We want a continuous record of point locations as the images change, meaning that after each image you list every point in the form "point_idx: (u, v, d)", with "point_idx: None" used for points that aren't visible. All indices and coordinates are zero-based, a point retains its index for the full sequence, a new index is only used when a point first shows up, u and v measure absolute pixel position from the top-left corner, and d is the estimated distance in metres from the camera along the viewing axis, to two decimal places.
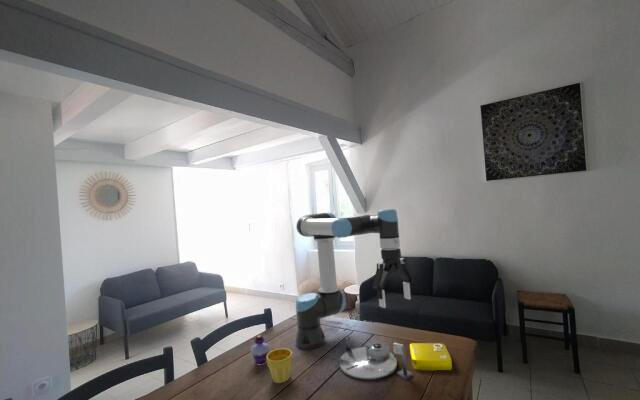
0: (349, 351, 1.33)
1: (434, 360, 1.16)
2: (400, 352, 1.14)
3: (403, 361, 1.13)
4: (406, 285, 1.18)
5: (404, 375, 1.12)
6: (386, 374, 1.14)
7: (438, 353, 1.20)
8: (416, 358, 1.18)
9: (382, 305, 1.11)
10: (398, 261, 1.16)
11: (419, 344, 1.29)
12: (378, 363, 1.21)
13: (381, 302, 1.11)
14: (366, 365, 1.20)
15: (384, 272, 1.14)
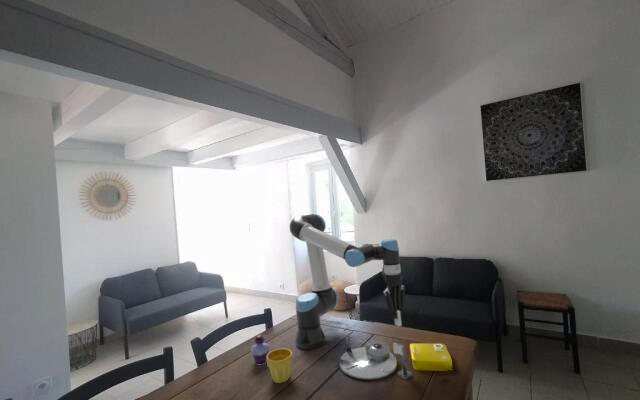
0: (349, 351, 1.33)
1: (434, 360, 1.16)
2: (400, 352, 1.14)
3: (403, 361, 1.13)
4: None
5: (404, 375, 1.12)
6: (386, 374, 1.14)
7: (438, 353, 1.20)
8: (416, 358, 1.18)
9: (397, 324, 1.34)
10: (400, 283, 1.36)
11: (419, 344, 1.29)
12: (378, 363, 1.21)
13: (396, 321, 1.34)
14: (366, 365, 1.20)
15: (391, 295, 1.34)
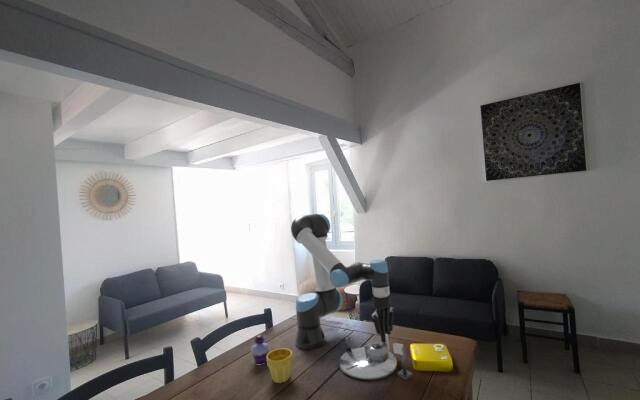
0: (349, 351, 1.33)
1: (435, 360, 1.15)
2: (400, 352, 1.14)
3: (403, 361, 1.13)
4: None
5: (404, 375, 1.12)
6: (386, 374, 1.14)
7: (438, 354, 1.20)
8: (417, 358, 1.18)
9: None
10: (389, 305, 1.31)
11: (420, 344, 1.29)
12: (378, 363, 1.21)
13: None
14: (366, 365, 1.20)
15: (379, 318, 1.30)
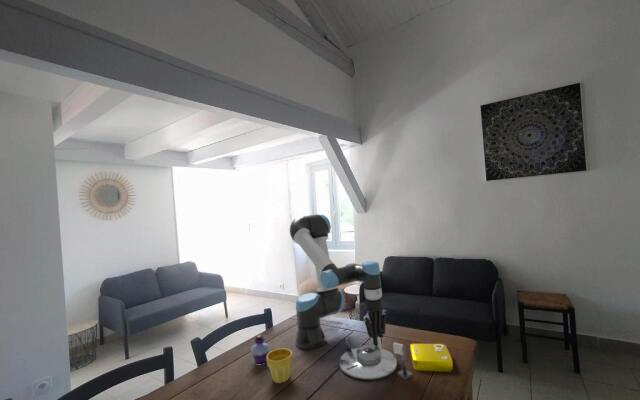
0: (349, 351, 1.33)
1: (435, 361, 1.15)
2: (400, 352, 1.14)
3: (403, 361, 1.13)
4: None
5: (404, 375, 1.12)
6: (386, 374, 1.14)
7: (438, 354, 1.20)
8: (417, 359, 1.18)
9: None
10: (381, 308, 1.29)
11: (420, 344, 1.29)
12: None
13: None
14: None
15: (371, 321, 1.27)
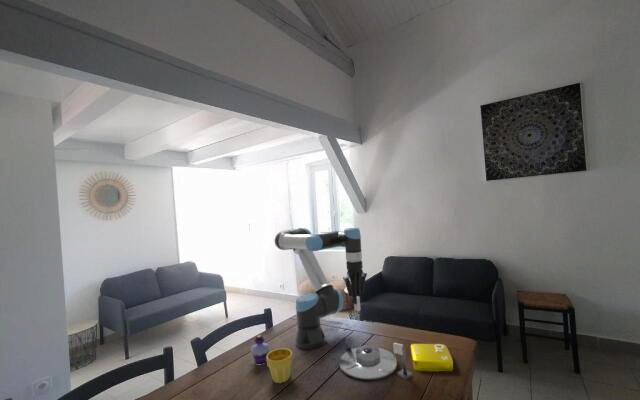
0: (349, 351, 1.33)
1: (435, 361, 1.15)
2: (400, 352, 1.14)
3: (403, 361, 1.13)
4: None
5: (404, 375, 1.12)
6: (386, 374, 1.14)
7: (439, 354, 1.20)
8: (417, 359, 1.17)
9: (356, 309, 1.39)
10: (361, 270, 1.40)
11: (420, 345, 1.29)
12: None
13: (356, 306, 1.39)
14: None
15: (352, 282, 1.39)
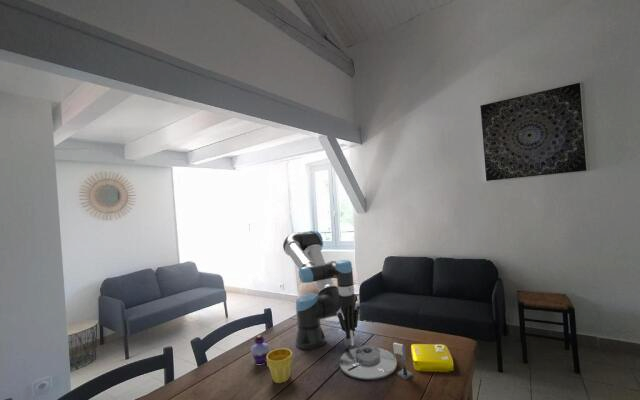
0: (348, 352, 1.33)
1: (436, 361, 1.15)
2: (400, 352, 1.14)
3: (403, 361, 1.13)
4: None
5: (404, 375, 1.12)
6: (388, 373, 1.14)
7: (439, 354, 1.20)
8: (417, 359, 1.17)
9: (350, 343, 1.36)
10: (353, 303, 1.38)
11: (421, 345, 1.28)
12: None
13: (349, 341, 1.37)
14: None
15: (344, 316, 1.37)
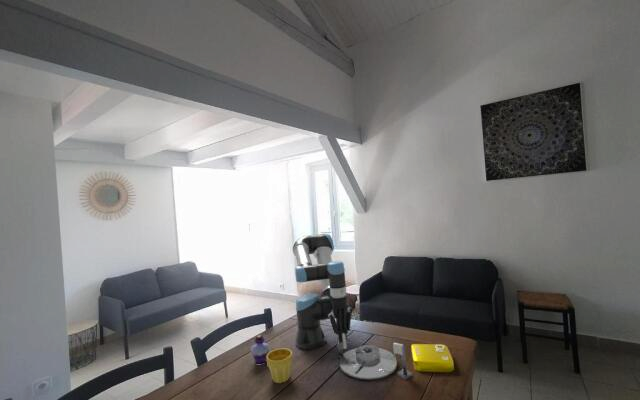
0: (343, 356, 1.30)
1: (436, 361, 1.15)
2: (400, 352, 1.14)
3: (403, 361, 1.13)
4: None
5: (404, 375, 1.12)
6: (394, 368, 1.17)
7: (439, 354, 1.19)
8: (418, 359, 1.17)
9: (342, 346, 1.34)
10: (346, 306, 1.35)
11: (421, 345, 1.28)
12: None
13: (342, 344, 1.34)
14: None
15: (337, 318, 1.34)
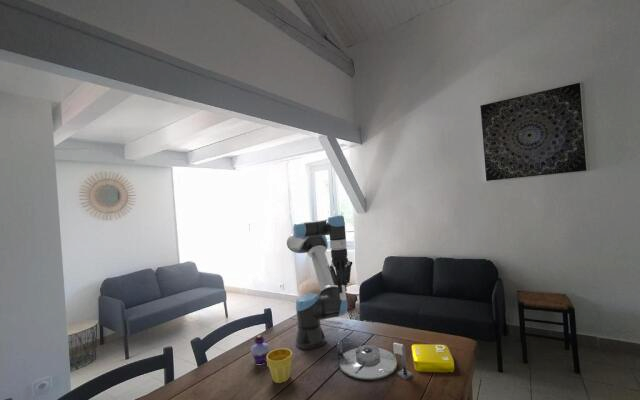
0: (343, 356, 1.29)
1: (436, 362, 1.15)
2: (400, 352, 1.14)
3: (403, 361, 1.13)
4: None
5: (404, 375, 1.12)
6: (394, 368, 1.17)
7: (440, 354, 1.19)
8: (418, 359, 1.17)
9: (342, 298, 1.35)
10: (346, 259, 1.37)
11: (421, 345, 1.28)
12: None
13: (341, 296, 1.36)
14: None
15: (337, 270, 1.36)
